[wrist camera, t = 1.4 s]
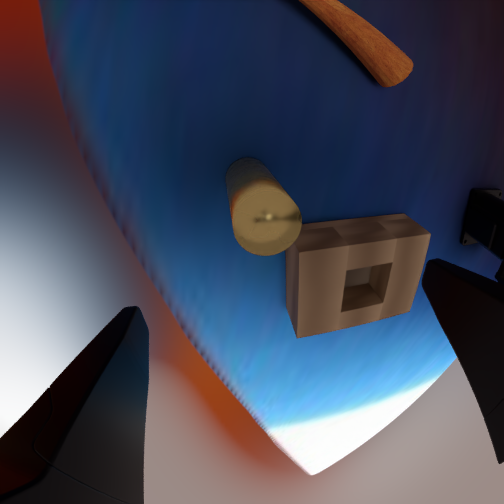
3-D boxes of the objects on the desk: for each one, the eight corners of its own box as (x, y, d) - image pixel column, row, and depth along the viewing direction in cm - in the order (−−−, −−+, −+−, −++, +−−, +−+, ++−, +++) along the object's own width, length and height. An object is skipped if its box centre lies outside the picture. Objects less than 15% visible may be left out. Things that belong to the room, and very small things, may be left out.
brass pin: (267, 155, 18) (301, 188, 11) (270, 196, 20) (301, 251, 13) (223, 160, 18) (229, 196, 11) (227, 201, 20) (237, 260, 13)
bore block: (403, 213, 22) (430, 233, 18) (389, 286, 26) (409, 311, 22) (284, 226, 21) (299, 252, 18) (286, 306, 25) (296, 338, 22)
